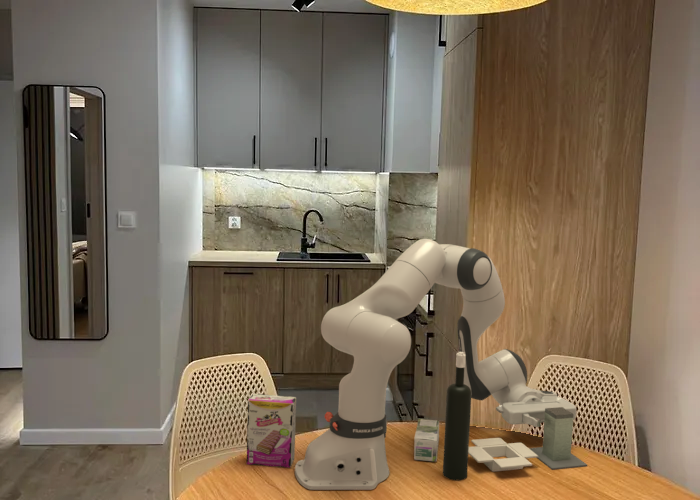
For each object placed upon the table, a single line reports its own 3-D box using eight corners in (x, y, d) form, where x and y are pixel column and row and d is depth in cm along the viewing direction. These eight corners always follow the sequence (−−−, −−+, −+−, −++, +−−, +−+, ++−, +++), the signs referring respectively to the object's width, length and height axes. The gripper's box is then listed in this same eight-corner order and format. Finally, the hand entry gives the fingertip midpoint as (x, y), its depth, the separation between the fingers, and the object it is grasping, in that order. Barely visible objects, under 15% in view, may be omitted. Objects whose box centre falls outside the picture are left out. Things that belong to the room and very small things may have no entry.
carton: (485, 480, 152) (485, 468, 151) (456, 452, 167) (457, 441, 167) (546, 474, 156) (547, 462, 156) (512, 447, 172) (513, 436, 171)
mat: (552, 469, 159) (552, 468, 159) (526, 449, 170) (526, 448, 170) (587, 466, 161) (587, 464, 161) (560, 446, 173) (560, 445, 173)
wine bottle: (438, 471, 156) (444, 350, 153) (459, 468, 158) (465, 348, 155) (450, 482, 151) (456, 356, 147) (471, 478, 152) (478, 354, 149)
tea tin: (552, 461, 163) (556, 415, 161) (542, 453, 168) (545, 408, 166) (570, 459, 164) (573, 414, 163) (559, 451, 169) (562, 407, 168)
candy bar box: (245, 465, 156) (246, 399, 154) (251, 456, 161) (252, 393, 159) (291, 469, 155) (292, 402, 153) (295, 460, 160) (296, 395, 158)
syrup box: (417, 438, 176) (413, 461, 161) (418, 417, 175) (414, 438, 161) (439, 440, 175) (436, 463, 160) (439, 419, 174) (437, 440, 160)
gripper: (493, 395, 177) (519, 413, 164) (559, 391, 182) (589, 408, 169) (492, 417, 178) (517, 437, 164) (558, 413, 183) (587, 431, 170)
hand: (554, 422), depth 167 cm, fingers open, 8 cm apart
